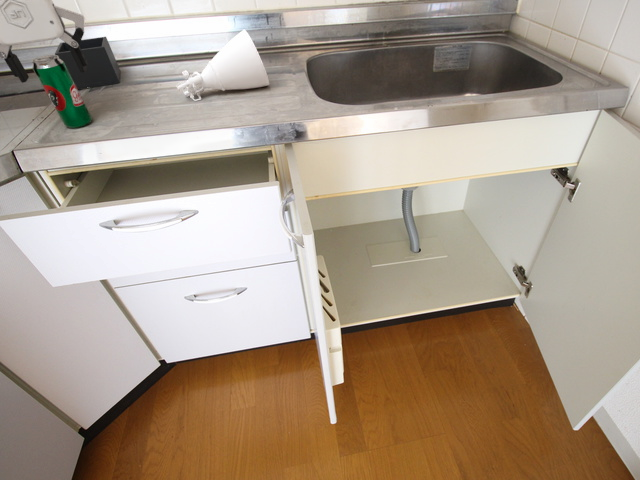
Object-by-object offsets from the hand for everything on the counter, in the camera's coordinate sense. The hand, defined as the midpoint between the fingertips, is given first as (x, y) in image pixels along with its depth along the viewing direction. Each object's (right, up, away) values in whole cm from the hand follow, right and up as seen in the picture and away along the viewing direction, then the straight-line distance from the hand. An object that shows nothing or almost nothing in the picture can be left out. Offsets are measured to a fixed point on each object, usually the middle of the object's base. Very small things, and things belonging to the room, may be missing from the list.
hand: (55, 75), depth 71 cm
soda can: (0, -7, +6) cm, 9 cm away
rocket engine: (+26, +5, +17) cm, 31 cm away
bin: (-9, +11, +25) cm, 29 cm away
